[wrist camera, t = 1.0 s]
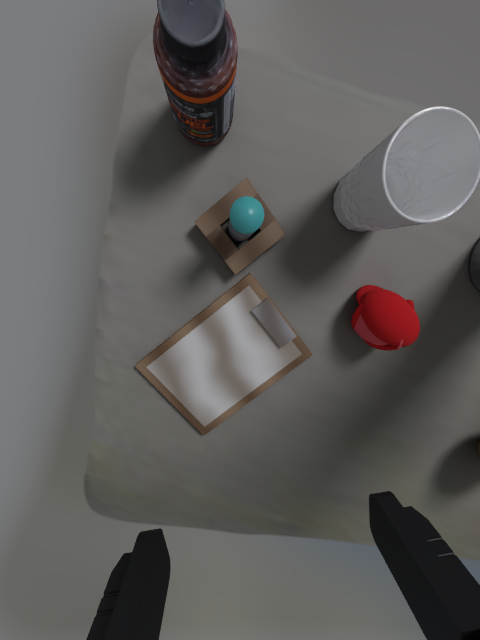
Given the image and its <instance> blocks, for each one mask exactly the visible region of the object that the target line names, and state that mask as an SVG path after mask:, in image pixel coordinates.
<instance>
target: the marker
mask: <svg viewBox="0 0 480 640" xmlns="http://www.w3.org/2000/svg"><path fill="white" fill-rule="evenodd" d="M263 220H264V209H263V207H262V205H261V203H260V202H259V201H258V200H257V199H255V198H253V197H250V196H244V197H240V198H239V199H237V200H236V201H235V202H234V203H233V205H232V207H231V210H230V221H229V234H230V236H231V237H232V238H233V239H234V240H236V241H245V240H247V239H248V238H249V237H250V236H251V235H252V234H253V233H254V232H255V231H256V230H257V229H258V228H259V227H260V226H261V225H262V223H263Z"/></svg>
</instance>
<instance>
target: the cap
mask: <svg viewBox="0 0 480 640" xmlns="http://www.w3.org/2000/svg"><path fill="white" fill-rule="evenodd" d="M356 299H357V302H358V304H359V306H358V307H357V309H356V310H355V312H354V314H353V316H352V320H351V324H352V327H353V329H354V330H355V331H356V333H357V334H358V335H359V336H360V337H361V338H362V339H363V340H364V341H365V342H366V343H367V344H368V345H370V346H371V347H374V348H376V349H380V350H395V349H396V350H398V349H400V348H401V347H405V346H408V345H411V344H412V343H413V342H415V340H416V339H417V338H418V335H419V332H420V323H419V319H418V316H417V314H416V312H415V310H414V303H413V301H412V300H405V299H404V298H403V297H401V296H400V295H398V294H396V293H394V292H392V291H389V290H384V289H382V288H380V287H377V286H373V285H366V286H363V287H361V288H360V289H359V290H358V291H357V294H356Z"/></svg>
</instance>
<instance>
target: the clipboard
mask: <svg viewBox="0 0 480 640" xmlns="http://www.w3.org/2000/svg"><path fill="white" fill-rule="evenodd" d="M311 355H312V353H311V352H310V351H309V349H308V348H307V347H306V345H305V344H304V343H303V341H302V340H301V339H300V337H299V336H298V335H297V334H296V332H295V331H294V330H293V328H292V327H291V326H290V324H289V323H288V322H287V320H286V319H285V318H284V316H283V315H282V314H281V313H280V311H279V310H278V309H277V307H276V306H275V305H274V303H273V302H272V301H271V299H270V298H269V297H268V295H267V294H266V293H265V292H264V290H263V289H262V288H261V286H260V285H259V284H258V282H257V281H256V280H255V278H254V277H253V276H252V274H251V273H249V274H248V275H247V276H246V277H244V278H243V279H242V280H241V281H239V282H238V283H237V284H236V285H234V286H233V287H232V288H231V289H229V290H228V291H227V292H226V293H224V294H223V295H222V296H221V297H219V298H218V299H217V300H216V301H214V302H213V303H212V304H211V305H209V306H208V307H207V308H206V309H204V310H203V311H202V312H201V313H199V314H198V315H197V316H196V317H194V318H193V319H192V320H191V321H189V322H188V323H187V324H186V325H184V326H183V327H182V328H181V329H179V330H178V331H177V332H176V333H174V334H173V335H172V336H171V337H169V338H168V339H167V340H166V341H164V342H163V343H162V344H161V345H159V346H158V347H157V348H156V349H154V350H153V351H152V352H151V353H149V354H148V355H147V356H146V357H144V358H143V359H142V360H141V361H139V362H138V363H137V364H136V365H135V367H136V368H137V369H138V370H139V371H140V372H141V373H142V374H143V375H144V376H145V377H146V378H147V379H148V380H149V381H150V382H151V383H152V384H153V385H154V386H155V387H156V388H157V389H158V390H159V391H160V392H161V393H162V394H163V395H164V396H165V397H166V398H167V399H168V400H169V401H170V402H171V403H172V404H173V405H174V406H175V407H176V408H177V409H178V410H179V411H180V412H181V413H182V414H183V415H184V416H185V417H186V418H187V420H188V421H189V422H190V423H191V424H192V425H193V426H194V427H195V428H196V429H197V430H198V431H199V432H200V433H201V434H202V435H203V436H204V435H205V434H207V433H208V432H209V431H211V430H212V429H213V428H215V427H216V426H217V425H219V424H220V423H221V422H223V421H224V420H225V419H227V418H228V417H229V416H231V415H232V414H233V413H235V412H236V411H237V410H239V409H240V408H242V407H243V406H244V405H246V404H247V403H248V402H250V401H251V400H252V399H254V398H255V397H256V396H258V395H259V394H260V393H262V392H263V391H264V390H266V389H267V388H268V387H270V386H271V385H272V384H274V383H275V382H276V381H278V380H279V379H281V378H282V377H283V376H285V375H286V374H287V373H289V372H290V371H291V370H293V369H294V368H295V367H297V366H298V365H299V364H301V363H302V362H303V361H305V360H306V359H307V358H309V357H310V356H311Z"/></svg>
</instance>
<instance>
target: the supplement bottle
mask: <svg viewBox="0 0 480 640" xmlns="http://www.w3.org/2000/svg"><path fill="white" fill-rule="evenodd" d="M157 6H158V14H157V17H156V19H155V25H154V30H153V44H154V52H155V57H156V61H157V64H158V67H159V70H160V74H161V77H162V80H163V83H164V87H165V89H166V93H167V96H168V99H169V102H170V105H171V108H172V111H173V115H174V118H175V120H176V123H177V125H178V127H179V129H180V131H181V132H182V134H183V135H184V136H185V137H186V138H187V139H189V140H190V141H191V142H193V143H195V144H197V145H202V146H208V145H213V144H215V143H218V142H219V141H221V140H222V139H223V138H224V137H225V136H226V134H227V133H228V131H229V129H230V126H231V123H232V118H233V107H234V94H235V80H236V68H237V38H236V32H235V28H234V25H233V22H232V20H231V18H230V16H229V14H228V12H227V11H226V9H225V3H224V0H157Z"/></svg>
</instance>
